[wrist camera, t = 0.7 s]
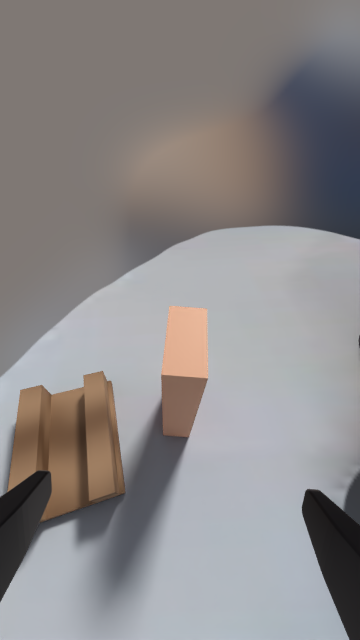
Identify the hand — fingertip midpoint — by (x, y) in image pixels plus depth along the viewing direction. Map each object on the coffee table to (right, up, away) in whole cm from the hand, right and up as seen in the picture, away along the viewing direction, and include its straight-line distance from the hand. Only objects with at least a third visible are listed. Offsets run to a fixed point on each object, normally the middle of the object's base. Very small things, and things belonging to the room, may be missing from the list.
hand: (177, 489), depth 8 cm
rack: (-10, -6, +14) cm, 18 cm away
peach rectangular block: (0, -3, +16) cm, 16 cm away
